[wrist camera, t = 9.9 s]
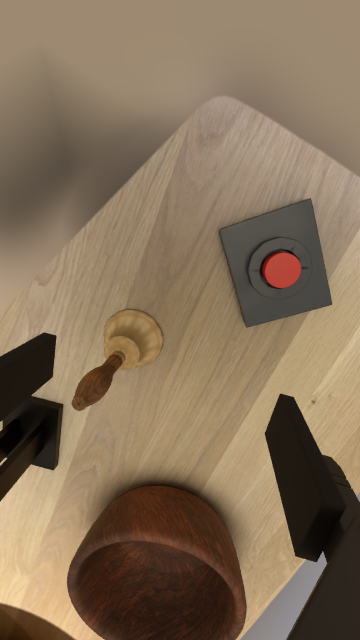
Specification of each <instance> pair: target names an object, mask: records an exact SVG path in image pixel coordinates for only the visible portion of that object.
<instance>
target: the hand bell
mask: <svg viewBox="0 0 360 640" xmlns="http://www.w3.org/2000/svg"><path fill="white" fill-rule="evenodd" d="M104 341H105V348H104V355H105V358H106V361H105V363H104V364H103V365H102V366H100V367H97V368H95V369H93V370H91V371H90V372H89V373H87V374H86V375H85V376H84V377H83V378H82V380H81V381H80V382H79V384H78V386H77V389H76V392H75V396H74V398H73V400H72V406H73V408H74V409H76V410H78V411H81V410H84V409H85V408H86V407H88V406H90V405H92V404H94V403H96V402H97V401H99V400H100V399H101V398H102V397H103V396H104V395H105V393H106V392H107V391H108V389H109V387H110V385H111V382H112V377H113V374H114V373H115V372H116V371H117V370H118V369H119V370H128V369H130V368H133V367H134V366H135V367H136V366H143V365H147V364H149V363H151V362H152V361H154V360H155V359H156V358H157V356H158V355H159V354H160V352H161V349H162V345H163V336H162V332H161V329H160V327H159V326H158V324H157V323H156V321H155V320H154V319H153V318H152V317H150V316H149V315H148V314H146V313H144V312H141V311H138V310H124V311H121V312H118V313H116V314H115V315H113V316H112V317H111V318H110V319H109V321H108V322H107V324H106V327H105V330H104Z"/></svg>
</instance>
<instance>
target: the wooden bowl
mask: <svg viewBox="0 0 360 640" xmlns="http://www.w3.org/2000/svg"><path fill="white" fill-rule="evenodd" d="M67 587H68V593H69V596H70V599H71V602H72V604H73V606H74V608H75V610H76V611H77V613H78V614H79V616H80V617H81V618H82V620H83V621H84V622H85V623H86V624H87V625H88V626H89V627H90V628H91V629H92V630H93V631H94V632H95V633H97V634H98V635H99V636H100V637H102V638H103V639H105V640H236V639H237V637H238V636H239V634H240V633H241V631H242V629H243V626H244V623H245V619H246V608H247V605H246V597H245V590H244V585H243V580H242V575H241V570H240V565H239V561H238V557H237V554H236V550H235V547H234V545H233V542H232V539H231V537H230V534H229V533H228V531H227V529H226V527H225V525H224V523H223V522H222V520H221V519H220V517H219V516H218V515H217V513H216V512H215V511H214V510H213V509H212V508H211V507H210V506H209V505H208V504H207V503H205V502H204V501H203V500H201V499H200V498H198V497H196V496H195V495H193V494H191V493H189V492H186V491H184V490H181V489H178V488H174V487H168V486H145V487H140V488H136V489H133V490H131V491H129V492H127V493H125V494H123V495H122V496H120V497H119V498H117V499H116V500H115V501H114V502H112V503H111V504H110V505H109V506H108V507H107V508H106V509H105V510H104V511H103V512H102V513H101V515H100V516H99V517H98V518H97V520H96V521H95V522H94V524H93V525H92V527H91V528H90V530H89V531H88V533H87V535H86V536H85V538H84V540H83V541H82V543H81V545H80V546H79V548H78V550H77V552H76V554H75V556H74V558H73V560H72V562H71V564H70V567H69V571H68V577H67Z"/></svg>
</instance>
